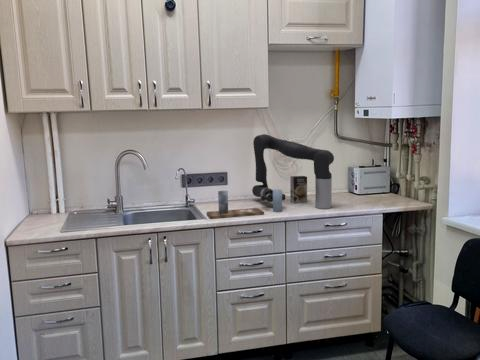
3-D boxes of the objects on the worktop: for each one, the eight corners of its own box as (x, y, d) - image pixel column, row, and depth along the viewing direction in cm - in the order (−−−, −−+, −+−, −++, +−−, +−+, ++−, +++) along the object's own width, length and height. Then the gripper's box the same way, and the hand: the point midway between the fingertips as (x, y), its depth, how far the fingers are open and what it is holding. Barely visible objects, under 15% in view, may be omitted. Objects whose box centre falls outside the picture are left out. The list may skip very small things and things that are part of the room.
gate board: (257, 210, 252) (257, 187, 250) (264, 214, 240) (263, 190, 238) (206, 214, 245) (205, 190, 243) (210, 219, 233) (209, 194, 231)
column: (275, 209, 252) (275, 189, 250) (283, 210, 249) (283, 189, 248) (271, 211, 247) (271, 190, 246) (279, 212, 245) (279, 191, 243)
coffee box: (294, 203, 269) (293, 177, 267) (290, 201, 276) (289, 176, 273) (307, 202, 272) (307, 176, 269) (303, 200, 278) (303, 175, 276)
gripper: (256, 189, 262) (264, 193, 247) (279, 187, 266) (288, 191, 250) (257, 201, 263) (264, 206, 248) (279, 199, 267) (288, 204, 251)
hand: (276, 199), depth 249 cm, fingers open, 8 cm apart
